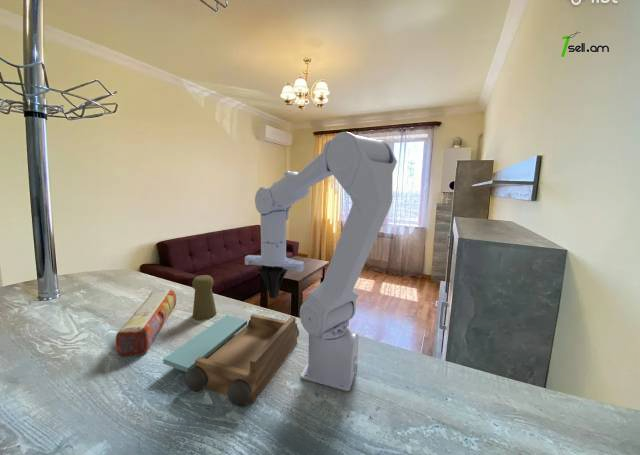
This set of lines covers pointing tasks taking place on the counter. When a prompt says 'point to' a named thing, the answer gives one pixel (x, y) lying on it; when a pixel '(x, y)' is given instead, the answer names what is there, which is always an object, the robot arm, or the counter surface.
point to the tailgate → (204, 343)
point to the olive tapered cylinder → (203, 298)
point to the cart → (246, 360)
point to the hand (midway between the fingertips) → (273, 296)
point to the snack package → (145, 323)
